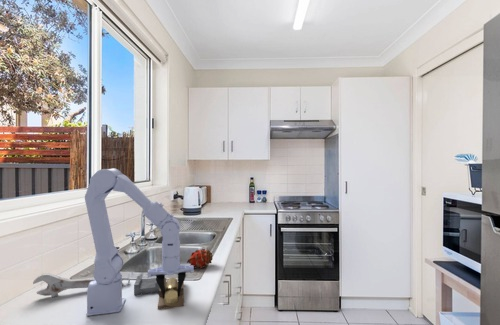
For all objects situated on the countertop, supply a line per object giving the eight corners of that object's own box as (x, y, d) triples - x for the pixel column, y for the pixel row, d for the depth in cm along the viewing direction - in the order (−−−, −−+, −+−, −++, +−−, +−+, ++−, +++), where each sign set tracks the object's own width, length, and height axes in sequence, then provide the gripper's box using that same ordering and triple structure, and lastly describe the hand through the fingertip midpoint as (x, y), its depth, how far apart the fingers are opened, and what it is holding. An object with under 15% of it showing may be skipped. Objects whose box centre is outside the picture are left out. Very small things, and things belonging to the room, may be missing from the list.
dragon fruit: (215, 268, 122) (189, 278, 116) (208, 253, 127) (183, 261, 122) (217, 257, 117) (190, 266, 111) (210, 241, 122) (183, 249, 117)
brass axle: (177, 305, 86) (177, 292, 86) (164, 306, 85) (164, 294, 85) (177, 288, 97) (177, 276, 97) (166, 289, 96) (165, 278, 96)
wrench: (128, 293, 102) (30, 299, 91) (128, 290, 104) (32, 297, 93) (130, 271, 103) (33, 275, 91) (131, 269, 104) (35, 273, 93)
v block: (134, 295, 94) (134, 285, 94) (137, 285, 102) (137, 275, 102) (159, 292, 96) (159, 282, 96) (161, 282, 104) (161, 273, 104)
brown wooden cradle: (157, 309, 85) (157, 299, 85) (161, 286, 101) (161, 278, 101) (183, 305, 87) (183, 296, 87) (183, 284, 103) (183, 276, 103)
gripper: (146, 261, 84) (146, 305, 85) (193, 257, 88) (194, 299, 88) (149, 254, 91) (149, 294, 91) (193, 250, 95) (193, 289, 95)
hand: (171, 296), depth 90 cm, fingers closed on brass axle, 4 cm apart
